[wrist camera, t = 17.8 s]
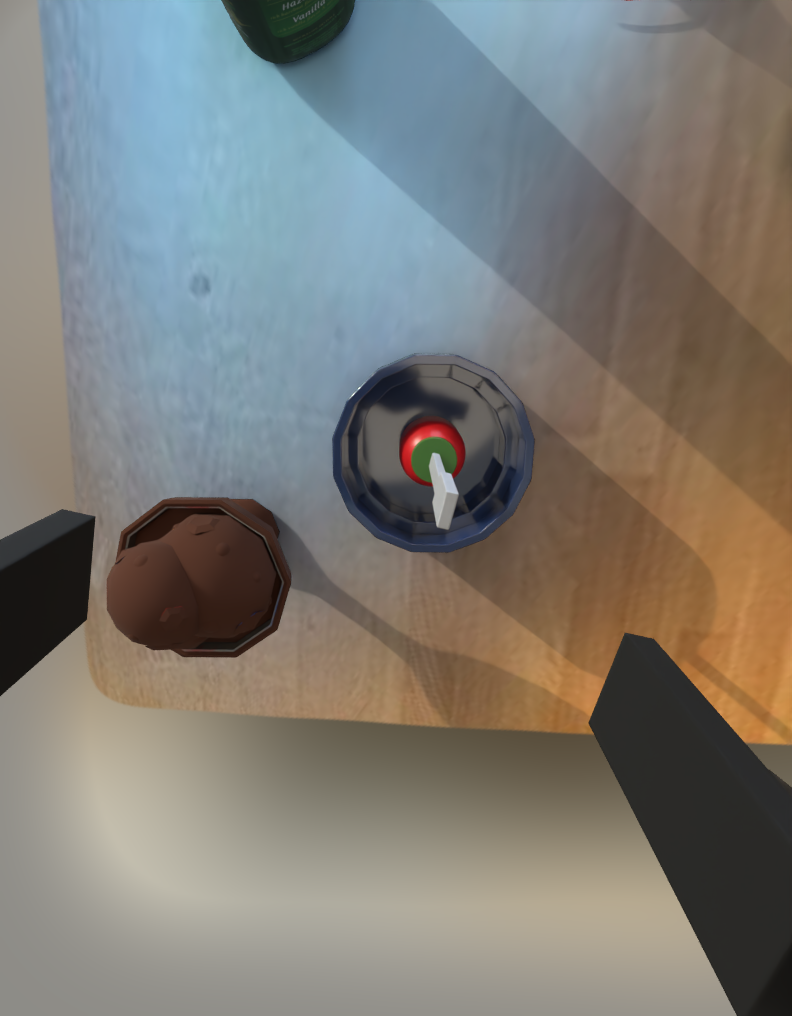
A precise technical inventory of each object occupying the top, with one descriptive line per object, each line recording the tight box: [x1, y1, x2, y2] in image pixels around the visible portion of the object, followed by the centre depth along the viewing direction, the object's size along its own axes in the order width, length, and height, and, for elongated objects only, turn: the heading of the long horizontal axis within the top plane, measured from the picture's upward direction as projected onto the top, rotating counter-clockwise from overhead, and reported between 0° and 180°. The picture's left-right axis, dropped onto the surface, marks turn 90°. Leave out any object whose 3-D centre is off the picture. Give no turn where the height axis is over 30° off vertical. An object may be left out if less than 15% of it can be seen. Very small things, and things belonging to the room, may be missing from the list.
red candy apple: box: [399, 416, 466, 530], centre depth 32 cm, size 5×5×16 cm
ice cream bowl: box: [107, 497, 291, 657], centre depth 35 cm, size 11×11×15 cm
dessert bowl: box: [332, 353, 535, 553], centre depth 38 cm, size 13×13×5 cm
